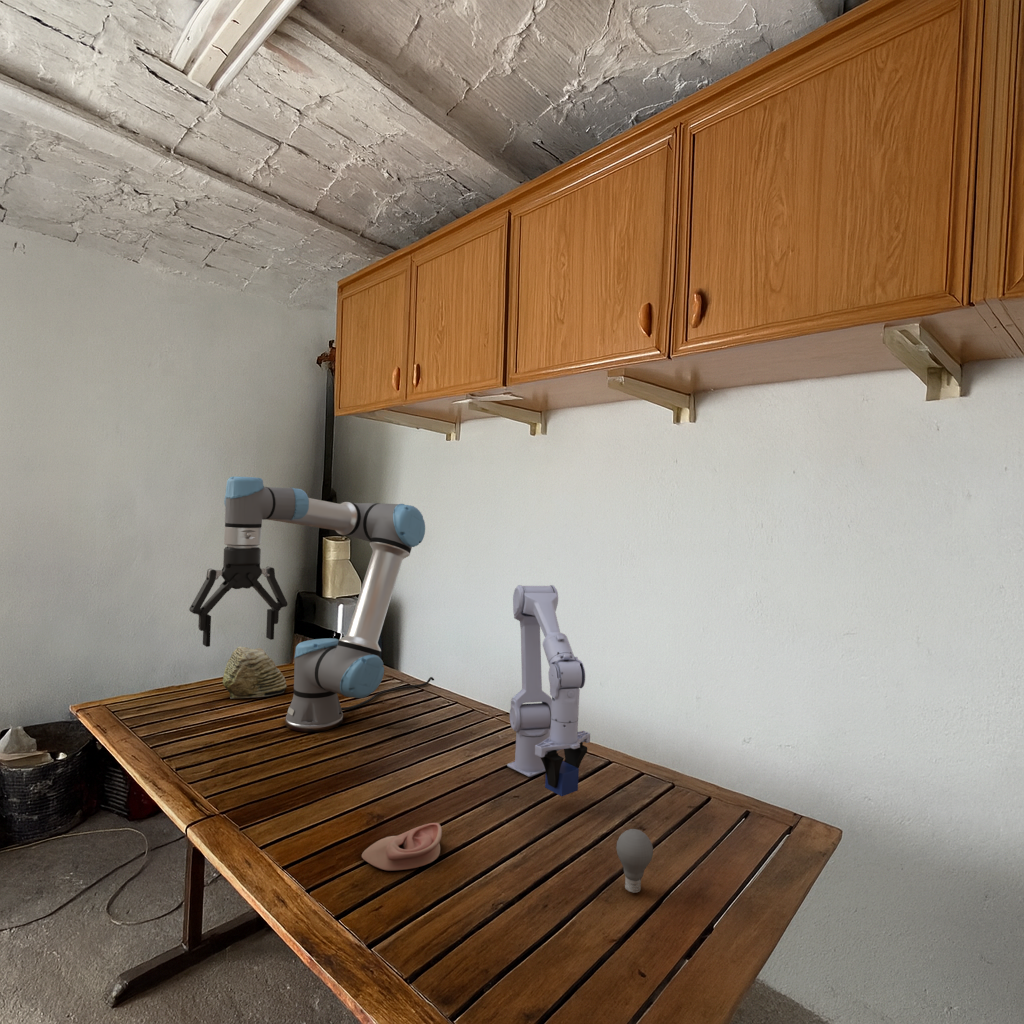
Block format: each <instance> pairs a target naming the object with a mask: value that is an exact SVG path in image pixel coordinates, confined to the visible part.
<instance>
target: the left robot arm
mask: <svg viewBox="0 0 1024 1024" xmlns="http://www.w3.org/2000/svg"><path fill="white" fill-rule="evenodd" d="M223 499H224V502H223V504H224V507H225V509H224V513H225V514H224V537H223V539H224V540H223V544H224V545H225V547H224V548H223V560H222V561H223V563H222V565H223V566H222V569H213V568H208V569H207V570H206V575H205V577H206V578H205V580H204V582H203V583H202V585H201V587H200V588H199V591H198V592H197V593H196V596H195V598H194V599H193V601H192V603H191V605H190V607H189V609H188V611H189V612H190V613H192V614H194V615H197V616H198V625H197V626H198V630H199V631H201V632H202V645H203V646H204V647H206V648H207V647H208V648H209V647H211V633H212V631H211V628H212V615H210V614H209V613H210V612H211V611H212V610H213V608H215V606H216V605H217V604H218V603H219V602H220V601H221V600H222V599H223V597H224V596H225V595H226V594H227V593H228V592H229V591H230V590H231V589H233V590H241V589H250V588H253V589H254V590H255V591H256V592H257V593H258V595H259V596H260V597H261V598H262V599H263V600H264V601H265V603H266V604H267V605H268V606H269V607H270V608H268V609H266V635H265V637H266V638H267V639H268V640H270V641H271V640H272V641H273V640H275V625H277V624H278V623H279V620H280V619H279V616H280V615H279V614H280V611H281V609H282V608H286V607H288V602H287V598H286V597H285V594H284V593H283V591H282V589H281V586H280V585H279V582H278V579H277V578H276V572H275V571H276V570H275V568H274V567H271V566H266V567H264V568H262V567H261V555H262V548H260V547H259V546H261V545H262V528H263V527H262V525H263V521H264V520H267V521H274V522H279V523H286V524H293V525H299V526H306V527H313V528H319V529H325V530H332V531H335V532H336V533H337V534H338V535H340V536H347V537H351V538H355V539H359V540H362V541H366V542H369V546H370V547H371V550H372V552H371V556H370V558H369V562H368V566H367V569H366V572H365V574H364V578H363V581H362V584H361V587H360V591H359V595H358V597H357V601H356V604H355V607H354V611H353V613H352V616H351V619H350V622H349V626H348V630H347V633H346V635H344V636H342V637H341V638H339V639H338V638H335V637H334V638H331V637H329V638H315V639H308V640H304V641H301V642H299V643H298V644H297V645H296V646H295V652H294V656H293V659H294V661H293V662H294V670H293V671H294V672H293V695H292V696H293V697H292V699H291V702H290V704H289V706H288V709H287V713H286V715H285V726H286V728H287V729H289V730H291V731H294V732H295V731H296V732H301V733H316V732H325V731H329V730H332V729H335V728H337V727H339V726H340V725H342V723H343V722H344V713H343V711H349V710H350V711H351V710H353V709H356V708H360V707H362V706H364V705H366V704H368V703H369V702H371V701H374V699H376V698H377V697H379V696H381V695H383V694H386V693H390V692H396V691H400V690H406V689H413V688H414V689H415V688H420V687H425V686H427V685H428V684H430V682H431V681H435V678H434V677H433V676H430V677H429V678H428V679H427V680H426V681H425V682H423V683H419V684H413V685H412V684H411V685H405V686H398V687H392V688H388V689H385V690H382V691H379V692H377V693H376V694H374V695H373V696H371V697H370V698H368V699H366V700H363V701H362V702H359V703H357V704H354V705H351V706H344V707H343V706H341V702H340V699H339V695H342V696H344V697H347V698H354V699H365V698H367V697H369V696H370V695H371V694H373V693H374V692H375V691H377V689H378V688H379V686H380V685H381V683H382V681H383V678H384V674H385V667H384V666H385V665H384V662H383V660H382V658H381V657H380V656H381V653H382V649H381V647H380V645H379V640H380V636H381V633H382V630H383V626H384V624H385V620H386V616H387V612H388V611H389V610H388V609H389V606H390V603H391V600H392V596H393V593H394V590H395V586H396V583H397V580H398V576H399V573H400V570H401V566H402V563H403V560H404V559H406V558H408V557H410V556H411V552H412V549H413V548H415V547H417V546H419V545H420V544H421V543H422V542H423V541H424V538H425V534H426V522H425V519H424V516H423V514H422V512H421V511H420V510H419V509H418V508H417V507H416V506H414V505H409V504H405V503H385V502H383V503H382V502H359V503H358V502H349V501H344V502H343V501H342V502H340V503H338V502H337V503H336V502H332V501H327V500H322V499H316V498H313V497H309V496H308V494H307V493H306V491H305V490H303V489H301V488H294V487H276V486H265V485H264V479H262V477H252V476H229V478H228V479H227V481H226V485H225V495H224V498H223ZM220 576H221V578H222V579H223V581H222V582H221V584H220V585H219V587H218V588H217V589H216V590H215V591H214V593H213V594H212V595H210V597H209V598H208V599H207V597H208V595H209V593H210V591H211V590H212V588H213V587H214V585H215V582H216V580H219V577H220ZM261 576H263V577H265V578H266V581H267V583H268V585H269V587H270V589H271V590H272V593H273V595H274V597H275V598H273V597H272V595H271V594H270V593H269V592H268V591H267V590H266V588H264V587H263V585H262V584H261V583H260V581H259V580H258V579H260V577H261ZM275 599H276V601H275ZM338 694H339V695H338Z"/></svg>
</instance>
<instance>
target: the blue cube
mask: <svg viewBox="0 0 1024 1024" xmlns="http://www.w3.org/2000/svg"><path fill="white" fill-rule="evenodd" d="M579 774H580V767H579V768H577V767H575V766H573V765H570V764H568V763H566V762H565V761H564V760H563V762H562V764H561V767H560V772H559V781H558V785H557V787H556V788H554V787H552V786H550V785H548V780H547V775H546V774H545V778H544V779H545V783H544V788H545V789H547V790H549V791H551V792H552V793H554V794H556V795H558V796H560V797H565V796H567V795H569V794H573V793H575V792H578V791H579Z"/></svg>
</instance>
